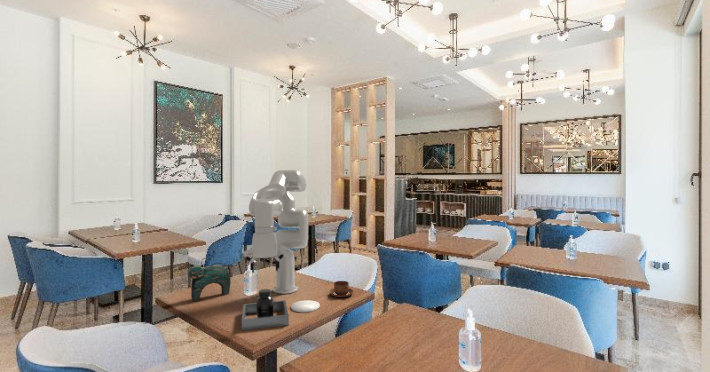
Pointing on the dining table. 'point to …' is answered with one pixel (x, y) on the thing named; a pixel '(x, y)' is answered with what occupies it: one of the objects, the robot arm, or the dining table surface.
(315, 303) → the plate
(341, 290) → the cup and saucer
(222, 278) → the ceramic cat
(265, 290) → the supplement bottle
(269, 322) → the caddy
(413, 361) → the dining table surface
